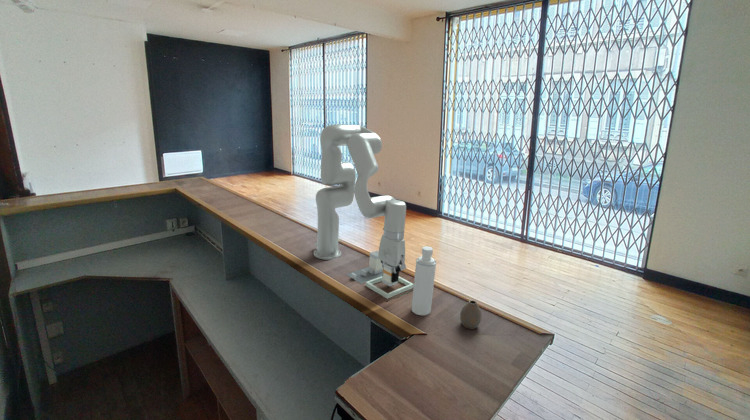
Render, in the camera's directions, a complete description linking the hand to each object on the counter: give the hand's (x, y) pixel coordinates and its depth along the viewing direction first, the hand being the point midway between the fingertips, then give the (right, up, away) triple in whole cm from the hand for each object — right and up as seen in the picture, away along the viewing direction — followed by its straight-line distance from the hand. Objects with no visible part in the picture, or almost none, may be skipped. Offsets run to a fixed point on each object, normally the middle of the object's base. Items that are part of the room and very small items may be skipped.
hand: (390, 278), depth 142 cm
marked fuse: (0, -2, 0) cm, 2 cm away
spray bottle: (+10, -9, -11) cm, 18 cm away
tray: (0, -5, +1) cm, 5 cm away
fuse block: (-9, -1, +11) cm, 14 cm away
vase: (+25, -12, -18) cm, 34 cm away
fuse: (-6, +1, +13) cm, 14 cm away
